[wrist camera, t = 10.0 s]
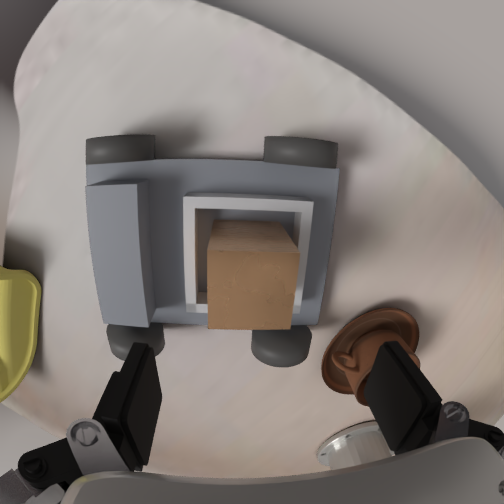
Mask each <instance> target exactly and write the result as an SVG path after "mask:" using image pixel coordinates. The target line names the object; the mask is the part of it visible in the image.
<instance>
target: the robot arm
mask: <svg viewBox="0 0 504 504" xmlns="http://www.w3.org/2000/svg"><path fill="white" fill-rule="evenodd" d="M364 397H365V399H366V401H367V403H368V405H369V407H370V409H371V411H372V413H373V415H374V417H375V419H376V421H374V422H366V423H362V424H358V425H355V426H352V427H350V428H347V429H345V430H343V431H341V432H339V433H337V434H335V435H334V436H332V437H331V438H329V439H328V440H327V441H325V442H324V443H323V444H322V445H321V446H320V448H319V449H318V451H317V458H318V461H319V463H321V464H322V465H325V466H330V468H331V470H330V471H324V472H317V473H310V474H302V475H292V476H281V477H266V478H203V477H186V476H175V475H165V474H155V473H145V472H142V468H143V465H146V466H147V464H148V461H149V456H150V451H151V447H152V442H153V437H154V433H155V428H156V424H157V419H158V415H159V411H160V406H161V402H162V392H161V387H160V382H159V377H158V372H157V366H156V360H155V355H154V349H153V347H149V344H148V343H139V342H134V343H133V345H132V347H131V349H130V351H129V353H128V355H127V358H126V360H125V362H124V364H123V366H122V368H121V371H120V372H117V371H115V372H113V374H112V376H111V378H110V380H109V382H108V384H107V386H106V389H105V391H104V393H103V395H102V397H101V400H100V402H99V404H98V406H97V409H96V411H95V413H94V416H93V418H92V419H90V418H82V419H78V420H76V421H74V422H73V423H71V424H70V425H69V427H68V429H67V433H66V436H67V438H64V439H62V440H59V441H56V442H54V443H51V444H48V445H46V446H43V447H40V448H37V449H35V450H32V451H29V452H27V453H25V454H23V455H22V456H21V457H20V459H19V461H18V469H16V470H15V471H14V470H13V469H11V470H9V471H8V472H7V473H5V474H4V475H2V476H1V477H0V504H504V433H503V432H502V431H501V430H500V429H499V428H497V427H495V426H491V425H488V424H484V423H481V422H478V421H474V420H471V419H469V412H468V410H467V408H466V407H465V406H464V405H462V404H461V403H458V402H454V401H451V402H447V403H445V404H444V405H442V404H441V401H442V399H441V397H440V396H439V394H438V393H437V392H436V390H435V389H434V388H433V386H432V385H431V384H430V382H429V381H428V380H427V378H426V377H425V376H424V374H423V373H422V372H421V370H420V369H419V368H418V366H417V365H416V364H415V363H414V361H413V360H412V359H411V357H410V356H409V355H408V354H407V352H406V351H405V350H404V348H403V347H402V346H401V345H400V343H399V342H398V341H396V340H395V341H386V342H384V343H383V344H382V345H381V346H380V347H379V349H378V352H377V355H376V358H375V361H374V364H373V367H372V369H371V372H370V375H369V378H368V380H367V383H366V385H365V388H364ZM393 454H395V456H392V455H393ZM134 470H135V471H141V472H134Z"/></svg>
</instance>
